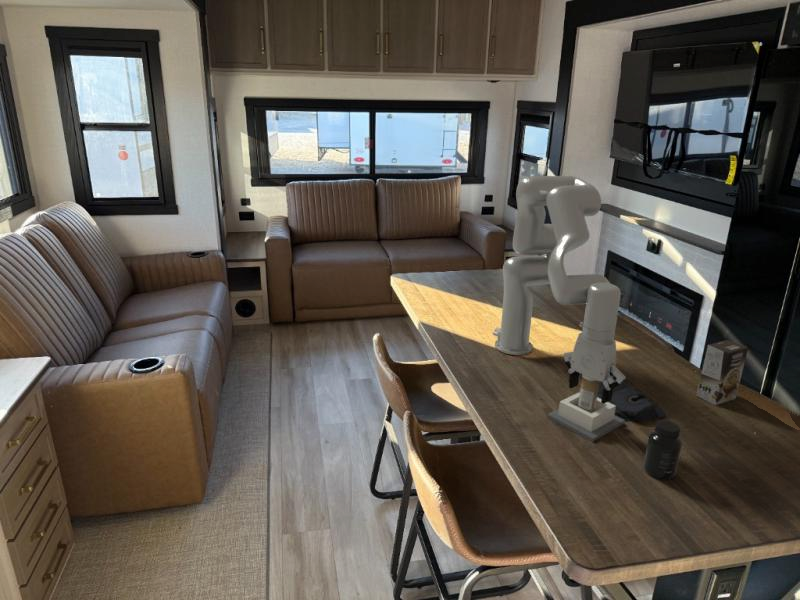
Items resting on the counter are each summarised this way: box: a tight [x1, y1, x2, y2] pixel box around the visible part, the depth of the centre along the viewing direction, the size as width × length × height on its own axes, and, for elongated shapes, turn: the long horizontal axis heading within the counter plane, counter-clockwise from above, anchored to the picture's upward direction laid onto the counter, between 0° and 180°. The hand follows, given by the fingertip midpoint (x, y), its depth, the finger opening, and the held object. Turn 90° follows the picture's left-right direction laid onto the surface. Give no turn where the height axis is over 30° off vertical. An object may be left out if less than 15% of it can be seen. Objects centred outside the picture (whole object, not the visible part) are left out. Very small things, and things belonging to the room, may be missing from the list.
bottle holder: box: [546, 391, 626, 443], centre depth 148 cm, size 14×14×5 cm
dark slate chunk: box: [597, 375, 667, 423], centre depth 159 cm, size 15×22×5 cm
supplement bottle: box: [643, 419, 683, 481], centre depth 127 cm, size 7×7×12 cm
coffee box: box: [696, 339, 749, 406], centre depth 160 cm, size 9×6×16 cm
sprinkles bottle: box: [578, 374, 599, 414], centre depth 147 cm, size 5×5×13 cm
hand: (589, 394), depth 147 cm, fingers open, 9 cm apart
